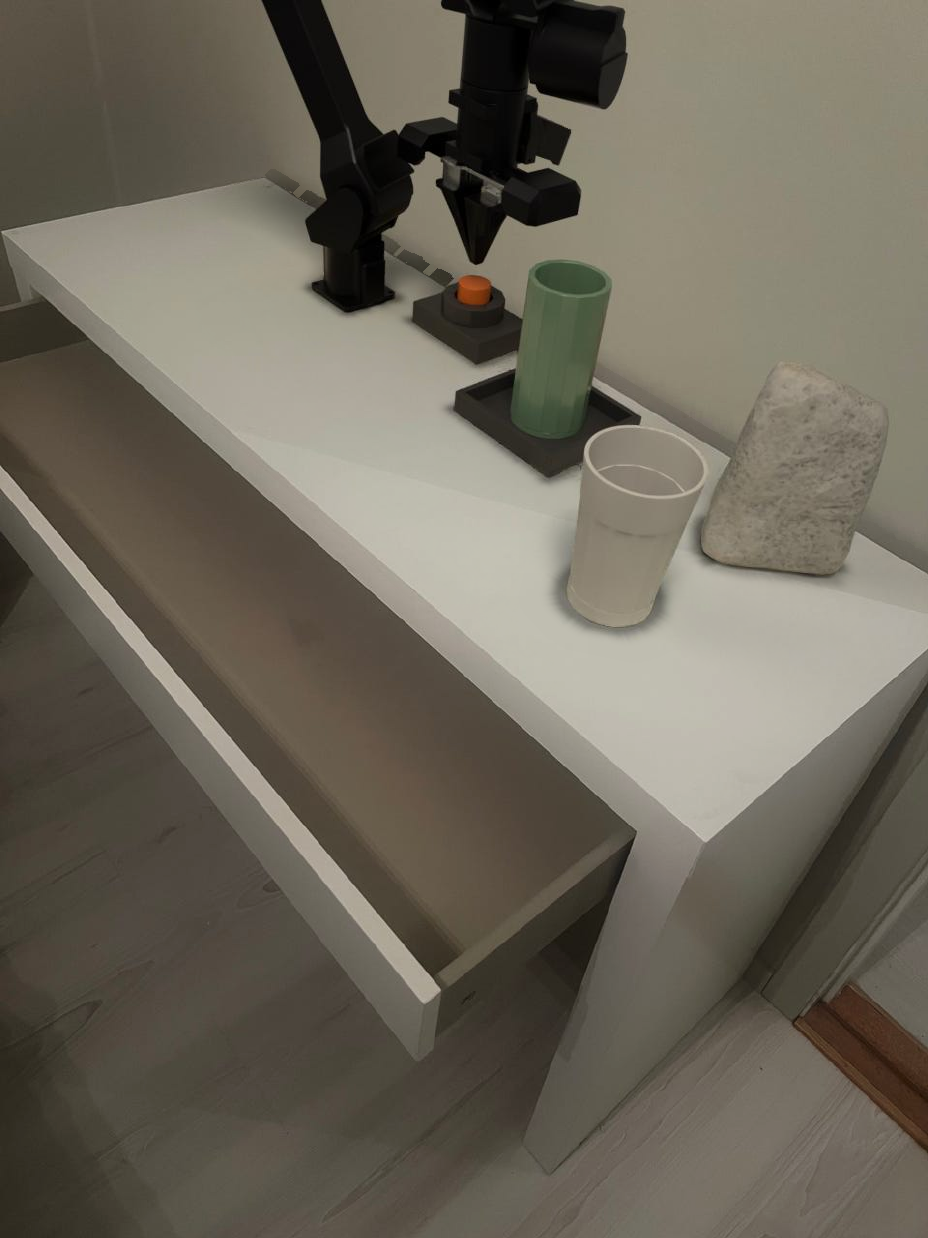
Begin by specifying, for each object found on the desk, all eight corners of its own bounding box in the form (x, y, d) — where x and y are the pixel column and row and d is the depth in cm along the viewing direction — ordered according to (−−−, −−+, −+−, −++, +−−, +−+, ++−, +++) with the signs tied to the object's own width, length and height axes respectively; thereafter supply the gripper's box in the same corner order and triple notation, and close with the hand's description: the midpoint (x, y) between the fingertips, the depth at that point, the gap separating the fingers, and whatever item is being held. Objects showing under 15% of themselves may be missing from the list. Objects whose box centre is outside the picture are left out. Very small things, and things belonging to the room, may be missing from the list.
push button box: (412, 321, 94) (413, 283, 92) (463, 304, 98) (467, 267, 95) (476, 364, 89) (480, 325, 87) (529, 345, 93) (534, 307, 90)
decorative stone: (834, 542, 74) (914, 376, 64) (840, 591, 70) (926, 422, 60) (698, 516, 75) (755, 348, 65) (696, 563, 71) (757, 391, 61)
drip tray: (453, 410, 83) (455, 390, 82) (542, 374, 89) (545, 356, 88) (548, 478, 77) (551, 458, 76) (637, 435, 83) (642, 416, 82)
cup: (661, 645, 65) (707, 509, 56) (548, 622, 65) (577, 484, 57) (666, 571, 70) (709, 437, 62) (562, 550, 71) (590, 415, 62)
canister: (497, 423, 82) (515, 281, 72) (527, 390, 86) (548, 252, 77) (566, 447, 80) (594, 305, 71) (593, 412, 84) (623, 273, 75)
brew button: (450, 296, 91) (451, 279, 90) (474, 288, 93) (476, 271, 92) (471, 309, 90) (473, 292, 88) (496, 301, 91) (498, 284, 90)
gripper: (641, 101, 77) (604, 282, 88) (491, 41, 86) (475, 211, 97) (545, 120, 71) (519, 311, 82) (396, 53, 81) (390, 233, 92)
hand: (476, 262), depth 89 cm, fingers closed
